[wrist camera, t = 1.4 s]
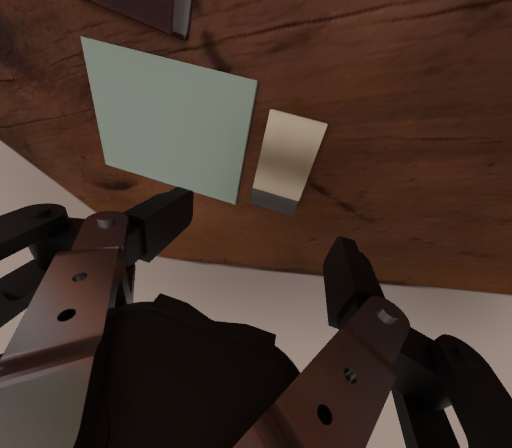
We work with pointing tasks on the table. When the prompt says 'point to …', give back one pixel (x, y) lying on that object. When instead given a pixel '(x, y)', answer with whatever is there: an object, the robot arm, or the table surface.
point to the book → (156, 13)
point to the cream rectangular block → (285, 160)
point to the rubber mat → (171, 118)
